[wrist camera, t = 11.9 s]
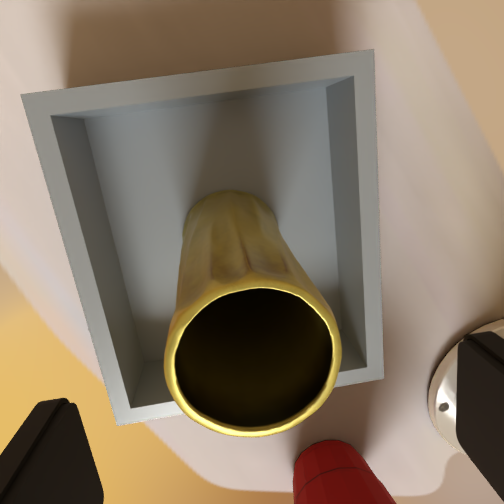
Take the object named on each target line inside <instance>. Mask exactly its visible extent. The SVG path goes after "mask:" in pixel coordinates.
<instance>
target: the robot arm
mask: <svg viewBox="0 0 504 504" xmlns="http://www.w3.org/2000/svg"><path fill="white" fill-rule="evenodd" d="M428 408H429V414H430V418H431V420H432V422H433V425H434V427H435V428H436V429H437V431H438V432H439V434H440V435H441V436H442V438H443V439H444V440H445V441H446V442H447V443H448V444H449V445H450V446H451V447H452V448H454V449H456V450H457V451H459V452H461V453H463V454H466V455H468V456H469V458H470V459H471V460H472V462H473V463H474V464H475V465H476V467H477V468H478V469H479V471H480V472H481V473H482V474H483V476H484V477H485V478H486V479H487V481H488V482H489V483H490V485H491V486H492V487H493V489H494V490H495V491H496V492H497V494H498V495H499V496H500V498H501V499H502V500H503V501H504V319H501V320H498V321H495V322H492V323H489V324H486V325H485V326H483V327H481V328H479V329H477V330H475V331H473V332H472V333H470V334H467V335H466V336H465V337H464V338H463V339H462V340H461V341H459V342H458V343H457V344H456V345H455V346H454V347H453V348H452V349H451V350H450V351H449V352H448V354H447V355H446V356H445V358H444V359H443V360H442V362H441V363H440V365H439V366H438V368H437V370H436V372H435V374H434V376H433V379H432V382H431V386H430V389H429V397H428ZM103 501H104V493H103V488H102V485H101V481H100V478H99V475H98V472H97V468H96V466H95V462H94V459H93V456H92V452H91V450H90V446H89V443H88V440H87V436H86V433H85V430H84V427H83V424H82V420H81V417H80V414H79V411H78V408H77V405H76V404H75V403H70V402H69V401H68V400H67V399H66V398H60V399H53V400H47V401H41V402H39V403H38V404H37V405H36V406H35V407H34V409H33V410H32V411H31V413H30V414H29V416H28V417H27V418H26V420H25V421H24V423H23V424H22V425H21V427H20V428H19V430H18V431H17V432H16V434H15V435H14V437H13V438H12V440H11V441H10V442H9V444H8V445H7V447H6V448H5V449H4V451H3V452H2V454H1V455H0V504H103Z"/></svg>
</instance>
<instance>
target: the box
mask: <svg viewBox="0 0 504 504" xmlns="http://www.w3.org/2000/svg"><path fill="white" fill-rule="evenodd" d="M20 95H21V98H22V102H23V105H24V109H25V112H26V116H27V119H28V122H29V126H30V129H31V133H32V136H33V140H34V143H35V146H36V150H37V153H38V157H39V160H40V164H41V167H42V170H43V174H44V177H45V181H46V184H47V187H48V191H49V194H50V198H51V201H52V205H53V208H54V211H55V215H56V218H57V222H58V225H59V229H60V232H61V235H62V239H63V242H64V246H65V249H66V253H67V256H68V259H69V263H70V266H71V270H72V273H73V277H74V280H75V283H76V287H77V290H78V294H79V297H80V301H81V304H82V307H83V311H84V314H85V318H86V321H87V324H88V328H89V331H90V335H91V338H92V342H93V345H94V348H95V352H96V355H97V359H98V362H99V366H100V369H101V372H102V376H103V379H104V383H105V386H106V390H107V393H108V396H109V400H110V403H111V407H112V410H113V413H114V417H115V420H116V424H117V426H119V425H125V424H131V423H136V422H142V421H148V420H153V419H159V418H165V417H170V416H176V415H182V414H184V413H183V411H182V410H181V409H180V408H179V407H178V405H177V404H176V402H175V401H174V399H173V397H172V395H171V393H170V391H169V389H168V386H167V383H166V379H165V375H164V367H163V366H164V354H165V348H166V342H167V337H168V332H169V327H170V323H171V320H172V317H173V314H174V312H175V307H176V295H177V283H178V274H179V264H180V257H181V249H182V244H183V240H182V233H183V229H184V224H185V221H186V218H187V216H188V214H189V212H190V211H191V209H192V208H193V207H194V206H195V205H196V204H197V203H198V202H199V201H201V200H202V199H203V198H205V197H206V196H208V195H210V194H212V193H215V192H219V191H223V190H237V191H242V192H247V193H250V194H253V195H254V196H256V197H258V198H259V199H261V200H262V201H263V202H264V203H265V204H266V205H267V206H268V207H269V208H270V209H271V211H272V212H273V214H274V216H275V218H276V221H277V224H278V227H279V231H280V233H281V235H282V237H283V239H284V240H285V242H286V243H287V245H288V247H289V248H290V250H291V252H292V253H293V255H294V257H295V258H296V260H297V261H298V262H299V264H300V265H301V266H302V268H303V269H304V271H305V272H306V274H307V275H308V277H309V278H310V280H311V281H312V282H313V284H314V285H315V286H316V288H317V289H318V290H319V292H320V293H321V295H322V296H323V298H324V299H325V301H326V302H327V304H328V305H329V307H330V308H331V310H332V312H333V315H334V317H335V320H336V323H337V326H338V330H339V334H340V339H341V345H342V359H341V364H340V369H339V372H338V376H337V380H336V383H335V386H334V388H335V387H340V386H346V385H352V384H357V383H363V382H369V381H374V380H380V379H384V360H383V327H382V294H381V262H380V229H379V196H378V163H377V130H376V98H375V65H374V49H371V50H363V51H356V52H348V53H340V54H332V55H324V56H317V57H309V58H301V59H293V60H285V61H277V62H270V63H262V64H254V65H246V66H238V67H231V68H223V69H215V70H207V71H199V72H192V73H184V74H176V75H168V76H160V77H152V78H145V79H137V80H129V81H121V82H113V83H106V84H98V85H90V86H82V87H74V88H67V89H59V90H51V91H43V92H35V93H27V94H20Z"/></svg>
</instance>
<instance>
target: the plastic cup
mask: <svg viewBox="0 0 504 504" xmlns="http://www.w3.org/2000/svg"><path fill="white" fill-rule="evenodd" d="M293 492H294V504H396V502H395V501H394V500H393V498H392V497H391V495H390V494H389V492H388V491H387V489H386V488H385V487H384V485H383V484H382V483H381V482H380V481H379V480H378V479H377V477H376V476H375V474H374V473H373V472H372V470H371V469H370V467H369V466H368V464H367V463H366V461H365V460H364V459H363V457H362V456H361V455H360V454H359V453H358V452H357V451H356V450H355V449H354V448H353V447H352V446H351V445H350V444H347V443H344V442H342V441H339V440H325V441H322V442H319V443H316V444H313V445H312V446H310V447H309V448H307V449H306V450H305V451H303V452H302V453H301V455H300V456H299V458H298V459H297V461H296V462H295V468H294V476H293Z"/></svg>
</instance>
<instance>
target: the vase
mask: <svg viewBox="0 0 504 504" xmlns="http://www.w3.org/2000/svg"><path fill="white" fill-rule="evenodd" d="M182 240H183V244H182V249H181V257H180V264H179V274H178V283H177V295H176V307H175V312H174V314H173V317H172V320H171V323H170V327H169V332H168V337H167V342H166V348H165V354H164V366H163V367H164V375H165V379H166V383H167V386H168V389H169V391H170V393H171V395H172V397H173V399H174V401H175V402H176V404H177V405H178V407H179V408H180V409H181V410H182V411H183V413H184V414H186V415H187V416H188V417H189V418H190V419H192V420H194V421H195V422H197V423H198V424H200V425H202V426H204V427H206V428H208V429H210V430H212V431H215V432H218V433H221V434H225V435H230V436H237V437H263V436H269V435H273V434H277V433H280V432H283V431H286V430H288V429H290V428H292V427H294V426H296V425H297V424H299V423H301V422H302V421H303V420H305V419H306V418H308V417H309V416H310V415H312V414H313V413H314V412H315V411H316V410H318V409H319V408H320V407H321V406H322V404H323V403H324V402H325V401H326V399H327V398H328V396H329V395H330V393H331V392H332V390H333V388H334V386H335V383H336V380H337V376H338V372H339V369H340V364H341V359H342V345H341V339H340V334H339V330H338V326H337V323H336V320H335V317H334V315H333V312H332V310H331V308H330V307H329V305H328V304H327V302H326V301H325V299H324V298H323V296H322V295H321V293H320V292H319V290H318V289H317V288H316V286H315V285H314V284H313V282H312V281H311V280H310V278H309V277H308V275H307V274H306V272H305V271H304V269H303V268H302V266H301V265H300V264H299V262H298V261H297V260H296V258H295V257H294V255H293V253H292V252H291V250H290V248H289V247H288V245H287V243H286V242H285V240H284V239H283V237H282V235H281V233H280V231H279V227H278V224H277V221H276V218H275V216H274V214H273V212H272V211H271V209H270V208H269V207H268V206H267V205H266V204H265V203H264V202H263V201H262V200H261V199H259V198H258V197H256V196H254V195H253V194H250V193H247V192H242V191H237V190H223V191H219V192H215V193H212V194H210V195H208V196H206V197H205V198H203V199H202V200H201V201H199V202H198V203H197V204H196V205H195V206H194V207H193V208H192V209H191V211H190V212H189V214H188V216H187V218H186V221H185V224H184V229H183V233H182Z"/></svg>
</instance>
